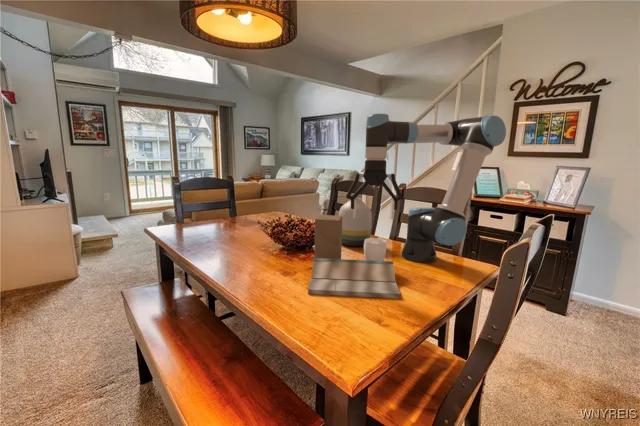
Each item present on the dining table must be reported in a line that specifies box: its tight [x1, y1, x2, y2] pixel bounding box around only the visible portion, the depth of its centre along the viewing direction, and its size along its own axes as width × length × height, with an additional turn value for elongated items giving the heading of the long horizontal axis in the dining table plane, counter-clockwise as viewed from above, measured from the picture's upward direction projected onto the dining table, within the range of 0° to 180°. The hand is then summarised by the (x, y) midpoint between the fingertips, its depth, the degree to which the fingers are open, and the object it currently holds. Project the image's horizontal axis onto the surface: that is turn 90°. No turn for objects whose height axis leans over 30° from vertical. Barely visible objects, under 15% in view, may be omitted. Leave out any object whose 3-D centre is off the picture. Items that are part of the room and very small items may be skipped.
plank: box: [310, 257, 396, 283], centre depth 113 cm, size 30×9×2 cm
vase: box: [338, 197, 373, 247], centre depth 158 cm, size 17×17×24 cm
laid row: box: [307, 278, 401, 299], centre depth 105 cm, size 30×9×2 cm, turn 85°
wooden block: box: [313, 214, 343, 259], centre depth 129 cm, size 10×10×20 cm
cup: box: [363, 237, 387, 261], centre depth 124 cm, size 9×9×12 cm
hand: (373, 218), depth 112 cm, fingers open, 13 cm apart
